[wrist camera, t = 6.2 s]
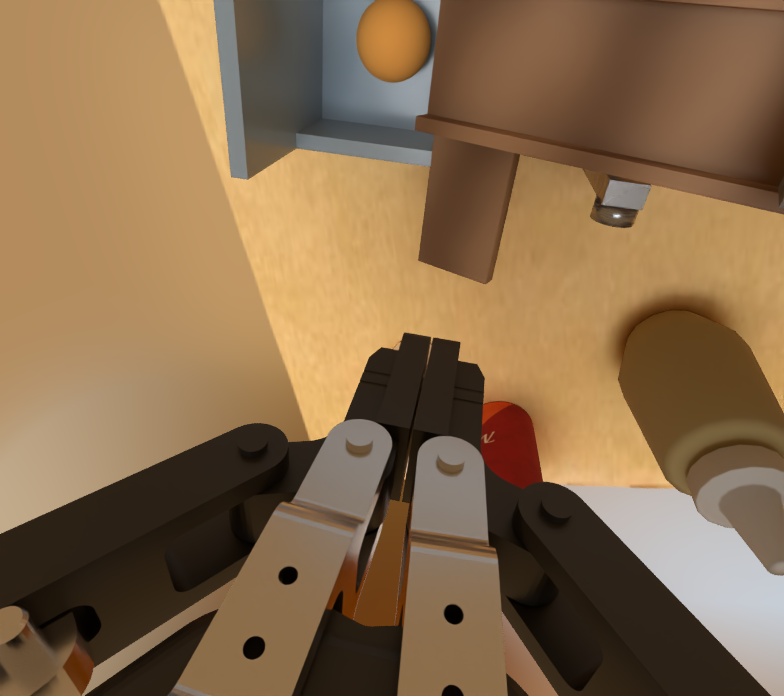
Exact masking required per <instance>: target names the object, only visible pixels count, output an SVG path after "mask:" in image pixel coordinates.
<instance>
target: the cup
mask: <svg viewBox="0 0 784 696" xmlns="http://www.w3.org/2000/svg"><path fill="white" fill-rule="evenodd" d="M374 1H375V0H214V10H215V20H216V30H217V40H218V50H219V60H220V70H221V80H222V90H223V100H224V110H225V121H226V131H227V141H228V151H229V161H230V171H231V177H234V178H241V179H249V178H251V177H252V176H254V175H256V174H257V173H259V172H260V171H262V170H263V169H265V168H266V167H268V166H270V165H271V164H273V163H274V162H276V161H277V160H279V159H280V158H282V157H284V156H285V155H287V154H288V153H290V152H291V151H293V150H295V149H296V148H298V149H305V150H312V151H319V152H327V153H334V154H341V155H348V156H356V157H363V158H370V159H377V160H384V161H392V162H399V163H406V164H413V165H421V166H428V167H430V165H431V157H432V149H433V141H434V135H433V134H428V133H424V132H420V131H415V122H416V116H418V115H424V114H427V112H428V104H429V95H430V87H431V78H432V69H433V61H434V52H435V44H436V35H437V27H438V18H439V10H440V1H441V0H412V1H413V2H415V3H416V4H417V5H418V6H419V7H420V8H421V10H422V11H423V13H424V14H425V16H426V18H427V21H428V23H429V27H430V33H431V44H430V50H429V54H428V57H427V59H426V61H425V63H424V65H423V66H422V68H421V69H420V70H419V71H418V72H417V73H416V74H415V75H414V76H413V77H411V78H409V79H408V80H405V81H402V82H397V83H389V82H385V81H382V80H380V79H378V78H376V77H374V76H373V75H372V74H371V73H370V72H369V71H368V70H367V69H366V68H365V66H364V65H363V63H362V61H361V59H360V57H359V54H358V50H357V43H356V34H357V28H358V24H359V21H360V19H361V16H362V15H363V13H364V11H365V10H366V9H367V7H368V6H369V5H370V4H371V3H373V2H374Z"/></svg>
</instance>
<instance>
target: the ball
mask: <svg viewBox="0 0 784 696" xmlns="http://www.w3.org/2000/svg"><path fill="white" fill-rule="evenodd" d="M356 43H357V50H358V54H359V57H360V59H361V61H362V63H363V65H364V66H365V68H366V69H367V70H368V71H369V72H370V73H371V74H372V75H373V76H374V77H376V78H378V79H380V80H382V81H385V82H389V83H397V82H402V81H405V80H408V79H409V78H411V77H413V76H414V75H415V74H416V73H417V72H418V71H419V70H420V69H421V68H422V66H423V65H424V63H425V61H426V59H427V57H428V54H429V50H430V44H431V33H430V27H429V23H428V21H427V18H426V16H425V14H424V13H423V11H422V10H421V8H420V7H419V6H418V5H417V4H416V3H415V2H413V1H412V0H375V1H374V2H373V3H371V4H370V5H369V6H368V7H367V9H366V10H365V11H364V13H363V15H362V16H361V19H360V21H359V24H358V28H357V34H356Z"/></svg>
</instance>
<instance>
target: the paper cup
mask: <svg viewBox="0 0 784 696" xmlns="http://www.w3.org/2000/svg"><path fill="white" fill-rule="evenodd" d="M481 453H482V457H483V459H484V461H485V463H486V464H487V466H488V467H489V468H490V469H491V470H492V471H493V472H494V473H495V474H496V475H498V476H499V477H500V478H502V479H504V480H506V481H507V482H509V483H512V484H514V485H516V486H518V487H520V488H522V489H524V488H525V487H527V486H528V485H530V484H533V483H536V482H543V479H542V473H541V467H540V462H539V456H538V450H537V444H536V438H535V433H534V428H533V424H532V421H531V418H530V416H529V415H528V414H527V412H526V411H525V410H523V409H522V408H521V407H519V406H517V405H515V404H512V403H508V402H490V403H487V404H484V405H483V417H482V436H481Z"/></svg>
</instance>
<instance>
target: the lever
mask: <svg viewBox="0 0 784 696" xmlns="http://www.w3.org/2000/svg"><path fill="white" fill-rule="evenodd" d="M415 131H420V132H424V133H428V134H433V135H434V141H433V149H432V157H431V165H430V172H429V180H428V188H427V196H426V204H425V212H424V220H423V227H422V235H421V243H420V251H419V259H418V261H421V262H424V263H427V264H429V265H432V266H435V267H438V268H441V269H443V270H446V271H449V272H452V273H455V274H458V275H460V276H463V277H466V278H469V279H472V280H474V281H477V282H480V283H483V284H487V283H488V282H489V281H490V280H491V279H492V277H493V272H494V268H495V263H496V259H497V255H498V250H499V246H500V241H501V237H502V232H503V228H504V224H505V219H506V215H507V210H508V206H509V201H510V197H511V193H512V188H513V184H514V179H515V175H516V170H517V166H518V162H519V157H520V154H521V155H525V156H530V157H534V158H538V159H543V160H547V161H552V162H556V163H560V164H565V165H569V166H574V167H578V168H582V169H587V170H591V171H596V172H600V173H604V174H609V175H613V176H618V177H622V178H626V179H631V180H635V181H640V182H644V183H648V184H653V185H657V186H662V187H666V188H670V189H675V190H679V191H684V192H688V193H692V194H697V195H701V196H706V197H710V198H714V199H719V200H723V201H728V202H732V203H736V204H741V205H745V206H750V207H754V208H758V209H763V210H767V211H772V212H776V213H780V214H784V0H441V1H440V10H439V18H438V27H437V35H436V44H435V52H434V61H433V69H432V78H431V87H430V95H429V104H428V112H427V114H424V115H418V116H416V122H415Z"/></svg>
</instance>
